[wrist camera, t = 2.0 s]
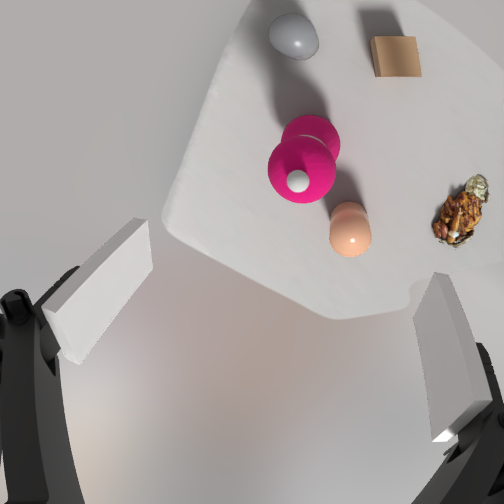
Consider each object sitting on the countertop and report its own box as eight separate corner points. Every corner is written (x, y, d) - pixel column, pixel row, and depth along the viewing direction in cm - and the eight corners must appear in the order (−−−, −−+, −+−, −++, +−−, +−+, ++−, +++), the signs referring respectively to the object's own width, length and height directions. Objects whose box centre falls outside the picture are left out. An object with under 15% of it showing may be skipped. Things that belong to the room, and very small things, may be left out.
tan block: (405, 41, 29) (415, 36, 25) (411, 76, 32) (421, 76, 28) (369, 41, 31) (374, 36, 27) (375, 77, 33) (381, 76, 29)
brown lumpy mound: (494, 186, 36) (503, 195, 33) (458, 248, 42) (464, 260, 39) (461, 165, 36) (470, 172, 33) (426, 231, 43) (431, 242, 40)
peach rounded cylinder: (371, 205, 43) (376, 223, 38) (363, 239, 46) (365, 260, 41) (334, 198, 44) (333, 215, 39) (327, 232, 47) (325, 252, 42)
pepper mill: (313, 100, 37) (297, 118, 21) (350, 140, 39) (363, 190, 22) (275, 135, 41) (231, 181, 24) (311, 173, 42) (294, 243, 26)
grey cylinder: (320, 27, 32) (317, 16, 25) (317, 62, 34) (314, 58, 28) (281, 24, 32) (270, 12, 26) (278, 58, 35) (266, 53, 28)
